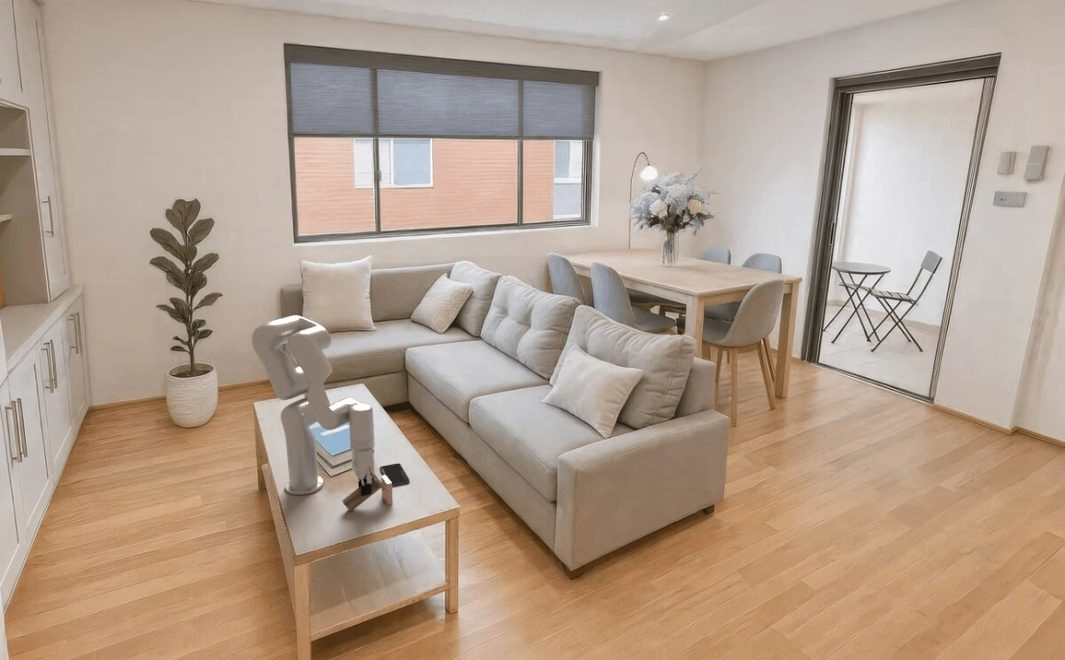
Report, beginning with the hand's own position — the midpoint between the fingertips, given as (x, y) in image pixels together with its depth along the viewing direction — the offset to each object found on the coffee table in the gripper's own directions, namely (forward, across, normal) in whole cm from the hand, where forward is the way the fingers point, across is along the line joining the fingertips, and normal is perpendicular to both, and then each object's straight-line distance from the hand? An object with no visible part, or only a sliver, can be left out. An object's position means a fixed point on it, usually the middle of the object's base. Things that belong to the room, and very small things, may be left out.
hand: (365, 492), depth 207 cm
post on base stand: (+2, 0, 0) cm, 2 cm away
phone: (+6, -15, +15) cm, 22 cm away
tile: (+5, 0, +8) cm, 9 cm away
